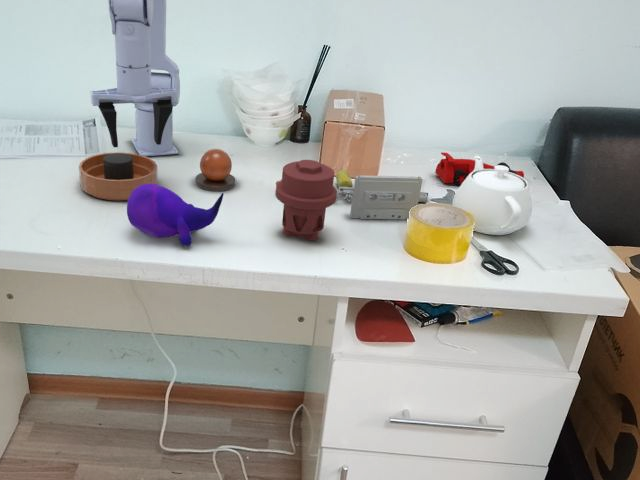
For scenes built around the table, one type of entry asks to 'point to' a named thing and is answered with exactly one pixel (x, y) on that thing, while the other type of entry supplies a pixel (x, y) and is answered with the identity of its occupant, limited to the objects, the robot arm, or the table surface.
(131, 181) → the round terracotta dish
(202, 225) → the toy
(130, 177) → the cap
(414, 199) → the cassette
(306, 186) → the mechanical component
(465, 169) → the toy car
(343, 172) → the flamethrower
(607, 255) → the table surface
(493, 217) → the teapot
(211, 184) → the sphere on round base
